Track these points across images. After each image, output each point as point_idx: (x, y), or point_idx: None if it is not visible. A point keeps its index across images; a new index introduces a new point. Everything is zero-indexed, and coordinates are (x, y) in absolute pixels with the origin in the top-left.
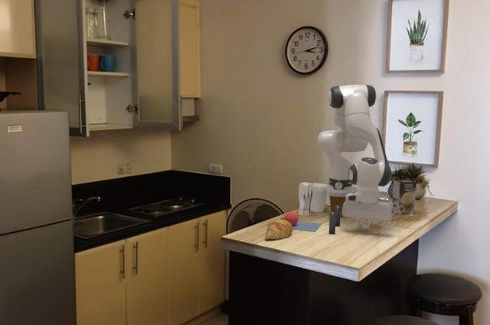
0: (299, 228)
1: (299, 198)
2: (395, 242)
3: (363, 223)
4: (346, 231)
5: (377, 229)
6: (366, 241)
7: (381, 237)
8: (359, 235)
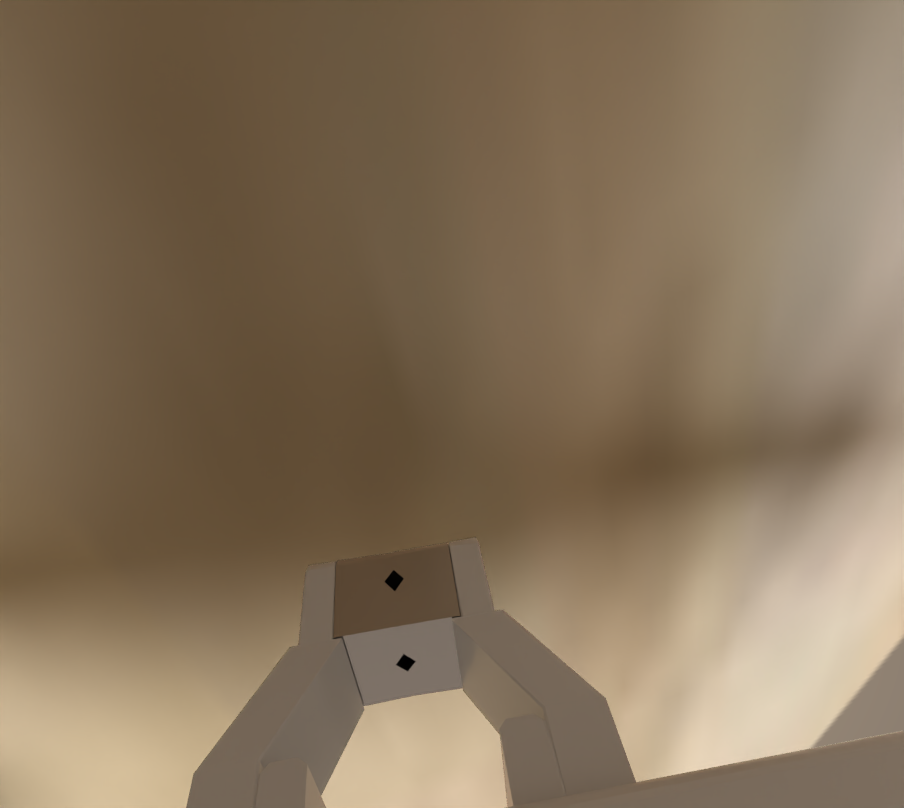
0: None
1: None
2: (873, 671)
3: (333, 696)
4: (15, 604)
5: (615, 14)
6: None
7: (702, 589)
8: None
